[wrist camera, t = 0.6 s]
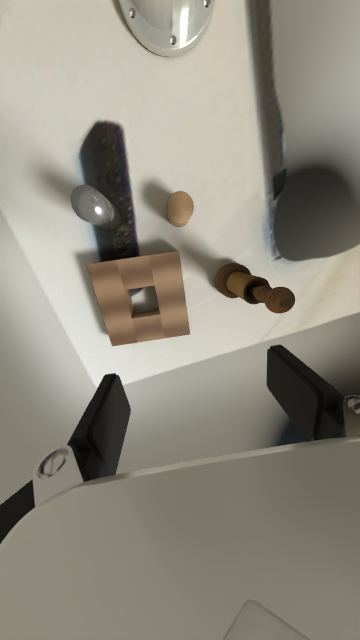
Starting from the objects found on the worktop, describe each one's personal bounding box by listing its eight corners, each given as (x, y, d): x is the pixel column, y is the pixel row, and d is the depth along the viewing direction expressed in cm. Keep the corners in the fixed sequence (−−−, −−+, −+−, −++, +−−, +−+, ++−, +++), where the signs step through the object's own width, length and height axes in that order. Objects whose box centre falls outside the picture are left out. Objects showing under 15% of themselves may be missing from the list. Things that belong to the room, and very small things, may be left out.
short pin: (165, 202, 30) (165, 193, 26) (188, 199, 30) (191, 189, 26) (169, 228, 32) (169, 223, 27) (191, 225, 32) (194, 220, 27)
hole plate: (94, 263, 33) (86, 264, 30) (177, 250, 33) (178, 250, 30) (117, 338, 39) (112, 346, 35) (188, 327, 39) (190, 334, 36)
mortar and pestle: (214, 296, 37) (252, 331, 20) (216, 263, 34) (261, 272, 18) (245, 295, 37) (308, 329, 20) (249, 263, 35) (324, 271, 18)
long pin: (95, 206, 30) (66, 187, 21) (118, 202, 30) (98, 182, 21) (102, 232, 31) (77, 223, 23) (124, 228, 31) (107, 219, 23)
